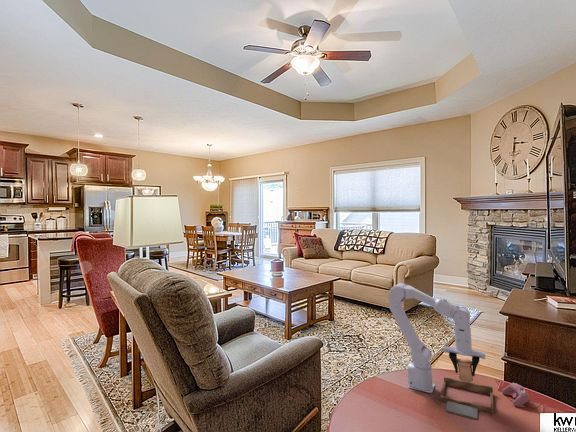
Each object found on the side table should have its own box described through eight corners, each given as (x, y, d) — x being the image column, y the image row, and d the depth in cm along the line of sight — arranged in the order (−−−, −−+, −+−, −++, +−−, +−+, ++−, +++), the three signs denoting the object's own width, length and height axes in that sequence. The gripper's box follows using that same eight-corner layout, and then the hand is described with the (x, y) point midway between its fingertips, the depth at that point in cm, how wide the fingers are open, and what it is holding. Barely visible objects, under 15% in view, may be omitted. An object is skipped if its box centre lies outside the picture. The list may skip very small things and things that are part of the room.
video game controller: (525, 412, 114) (534, 395, 113) (512, 405, 115) (521, 389, 114) (511, 397, 123) (519, 382, 123) (500, 392, 124) (507, 376, 124)
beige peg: (457, 380, 121) (456, 362, 122) (459, 375, 126) (457, 357, 126) (473, 383, 118) (471, 364, 119) (474, 377, 123) (472, 359, 123)
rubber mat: (445, 411, 113) (445, 409, 113) (447, 402, 119) (447, 400, 119) (477, 420, 108) (477, 418, 108) (477, 409, 114) (477, 408, 114)
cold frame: (439, 400, 121) (439, 392, 121) (444, 383, 133) (443, 376, 133) (493, 413, 111) (492, 404, 111) (493, 394, 124) (492, 386, 124)
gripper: (441, 339, 124) (443, 373, 123) (484, 345, 116) (486, 382, 115) (443, 333, 129) (445, 366, 129) (484, 339, 122) (486, 374, 121)
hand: (465, 373), depth 122 cm, fingers closed on beige peg, 5 cm apart
